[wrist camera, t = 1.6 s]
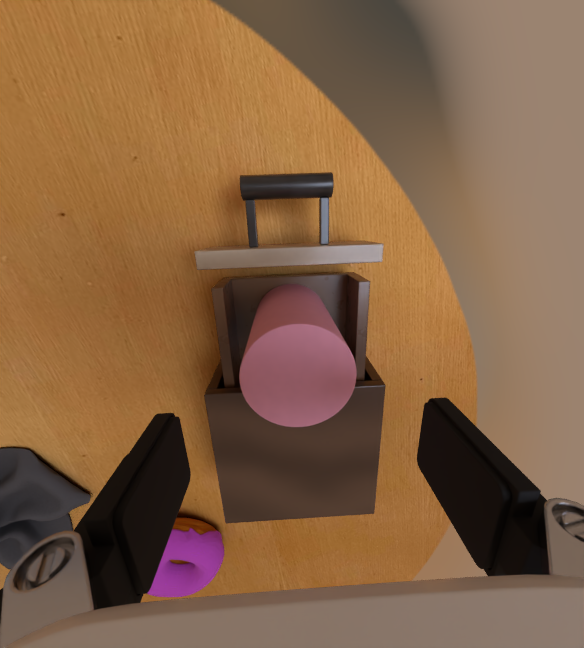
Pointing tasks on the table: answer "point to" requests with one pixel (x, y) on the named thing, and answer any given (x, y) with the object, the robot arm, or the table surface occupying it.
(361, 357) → the drawer
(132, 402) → the table surface
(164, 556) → the donut
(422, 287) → the table surface
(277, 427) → the cabinet
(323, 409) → the cylinder
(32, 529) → the cloth
